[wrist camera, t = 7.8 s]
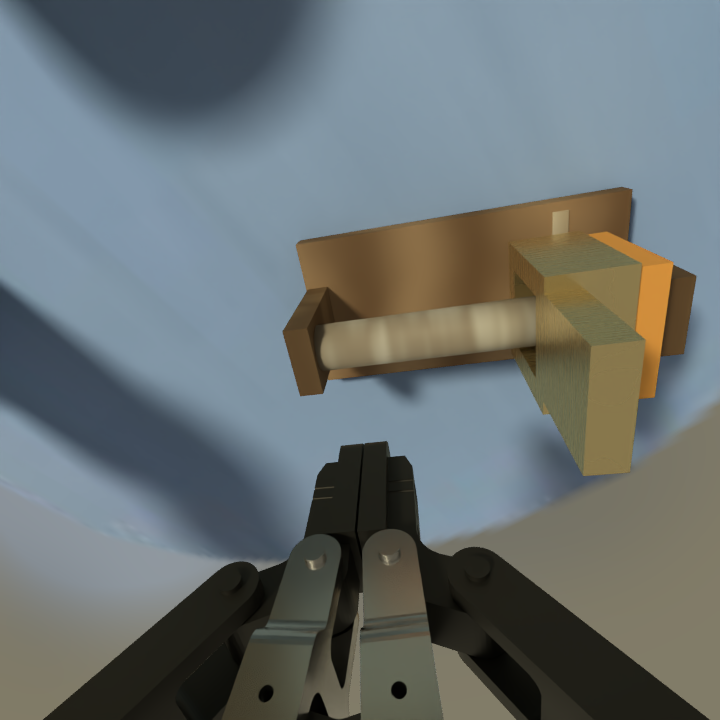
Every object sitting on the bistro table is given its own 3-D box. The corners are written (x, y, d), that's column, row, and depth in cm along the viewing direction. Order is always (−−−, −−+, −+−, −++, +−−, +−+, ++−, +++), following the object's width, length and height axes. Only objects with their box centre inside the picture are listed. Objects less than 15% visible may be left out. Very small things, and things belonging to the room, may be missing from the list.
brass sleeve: (511, 352, 25) (582, 491, 15) (508, 241, 23) (592, 324, 13) (575, 344, 25) (691, 483, 15) (580, 230, 22) (726, 307, 12)
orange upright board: (576, 343, 25) (625, 400, 19) (581, 235, 22) (638, 267, 17) (599, 340, 24) (654, 397, 19) (606, 231, 22) (673, 262, 16)
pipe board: (330, 371, 30) (310, 439, 23) (299, 240, 26) (265, 276, 20) (609, 338, 27) (677, 404, 21) (621, 187, 24) (710, 207, 17)
